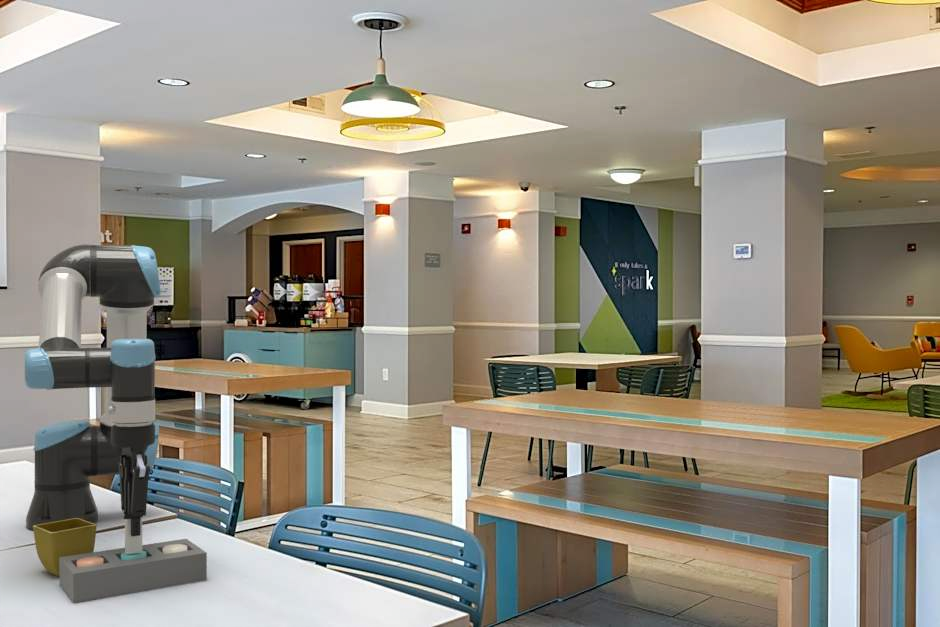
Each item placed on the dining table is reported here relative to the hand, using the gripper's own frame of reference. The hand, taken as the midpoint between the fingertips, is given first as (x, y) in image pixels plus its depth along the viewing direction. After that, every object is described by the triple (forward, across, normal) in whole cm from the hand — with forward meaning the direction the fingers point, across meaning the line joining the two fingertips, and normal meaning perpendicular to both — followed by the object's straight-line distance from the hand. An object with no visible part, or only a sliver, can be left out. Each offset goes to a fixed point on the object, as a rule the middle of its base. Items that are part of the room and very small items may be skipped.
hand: (133, 552), depth 166 cm
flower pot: (+6, -14, -9) cm, 18 cm away
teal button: (+3, 0, 0) cm, 3 cm away
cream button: (+3, 0, +8) cm, 8 cm away
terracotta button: (+3, 0, -8) cm, 8 cm away
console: (+6, 0, 0) cm, 6 cm away
